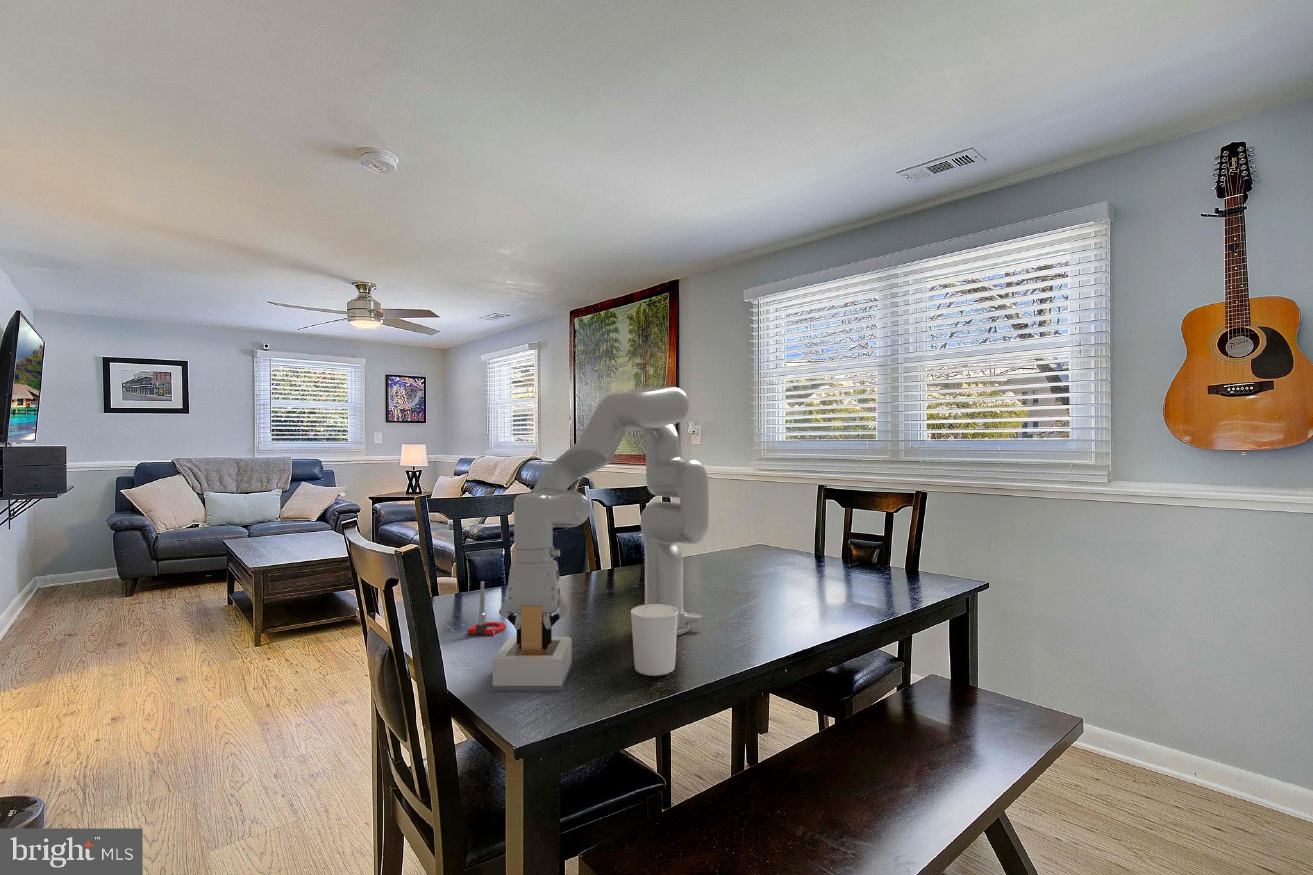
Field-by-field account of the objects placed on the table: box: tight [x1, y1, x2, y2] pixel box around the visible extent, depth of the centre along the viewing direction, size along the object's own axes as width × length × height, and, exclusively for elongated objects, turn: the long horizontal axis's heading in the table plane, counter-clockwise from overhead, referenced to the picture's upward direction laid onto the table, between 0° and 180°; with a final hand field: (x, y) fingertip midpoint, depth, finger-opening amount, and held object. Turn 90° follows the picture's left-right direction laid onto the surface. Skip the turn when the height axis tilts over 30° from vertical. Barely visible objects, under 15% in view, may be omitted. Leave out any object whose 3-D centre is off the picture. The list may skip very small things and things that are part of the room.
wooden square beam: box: [521, 606, 547, 656], centre depth 124 cm, size 4×5×12 cm
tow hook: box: [467, 581, 507, 637], centre depth 155 cm, size 8×13×9 cm
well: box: [492, 636, 572, 692], centre depth 124 cm, size 13×13×6 cm
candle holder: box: [630, 604, 678, 677], centre depth 129 cm, size 10×10×12 cm
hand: (534, 646), depth 124 cm, fingers closed on wooden square beam, 4 cm apart
